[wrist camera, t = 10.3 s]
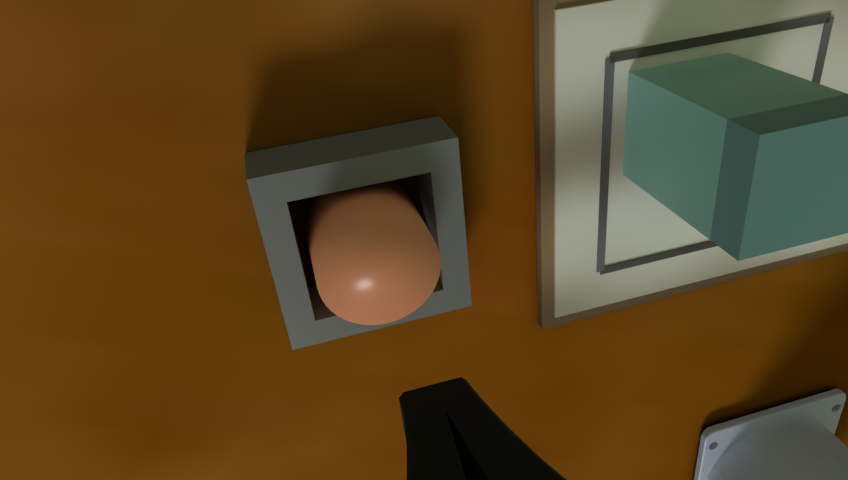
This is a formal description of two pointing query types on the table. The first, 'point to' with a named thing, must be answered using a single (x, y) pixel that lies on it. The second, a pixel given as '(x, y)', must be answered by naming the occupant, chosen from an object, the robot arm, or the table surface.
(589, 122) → the clipboard with paper sheet
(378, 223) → the button
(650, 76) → the teal banded box
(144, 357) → the table surface
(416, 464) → the robot arm
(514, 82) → the table surface
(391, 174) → the button housing
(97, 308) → the table surface
